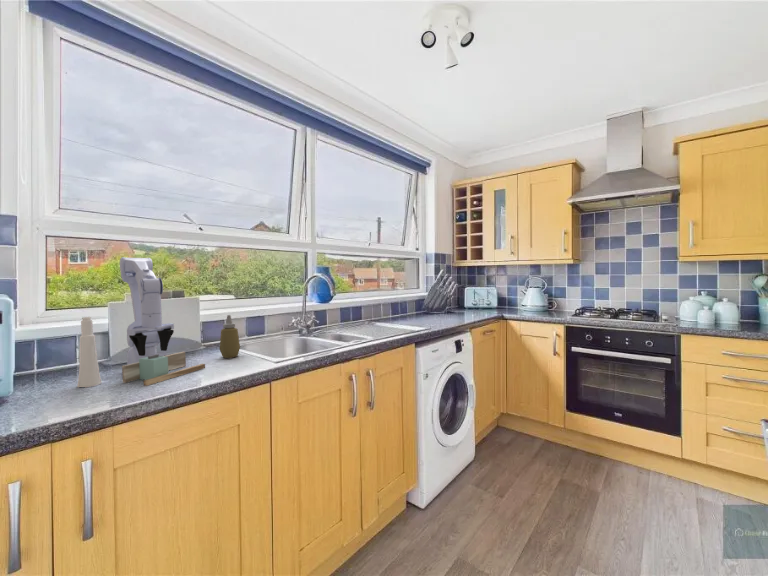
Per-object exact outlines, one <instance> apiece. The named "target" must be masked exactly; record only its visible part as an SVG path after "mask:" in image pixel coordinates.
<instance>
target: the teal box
mask: <svg viewBox="0 0 768 576" xmlns="http://www.w3.org/2000/svg"><path fill="white" fill-rule="evenodd" d="M164 356H165V355H163V356H160V355H159V354H158V353H157V354H156V355H152V356H148V357H145V358H141V359H139V368H140V379H139V380H143V379H145V380H148V379H151V378H154V377H158V376H161V375H165V374H168V373H169V371H168V357H164Z"/></svg>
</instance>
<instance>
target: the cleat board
mask: <svg viewBox="0 0 768 576" xmlns="http://www.w3.org/2000/svg"><path fill="white" fill-rule="evenodd" d="M163 356H164V357H168V374H165V375H161V376H158V377H154V378H151V379H148V380H143V386H146V387H149V386H150V385H153V384H154V385H155V384H158V383H160V382H161V383H162V382H164V381H167V380H170V378H171V379H173V378H177V377H180V376H183V375H187V374H190V373H193V372H197V371H199V370H203V369H205V368H206V364H205V363H200V364H196V365H193V366H189V367H186V366H187V363H186V361H187V359H186V358H187V357H186V351H180V352H174V353H172V354H166V355H163ZM183 367H186V368H183ZM180 368H183V369H180ZM176 369H179V370H177V371H176ZM169 370H170V371H172V372H170V371H169ZM173 370H175V371H173ZM121 373H122V375H121V376H122V384H123V383H124V384H126V383H129V382H130V381H131V382H134V381H137V379H138V380H141V379H140V368H139V362H137V363H132V364H128V365H127V364H125V365H121ZM157 382H158V383H157Z"/></svg>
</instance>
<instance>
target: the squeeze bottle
mask: <svg viewBox="0 0 768 576" xmlns="http://www.w3.org/2000/svg"><path fill="white" fill-rule="evenodd" d="M222 327H223V328H222V329H221V330H220V340H219V351H220V354H221V355H222V358H223V359H231V358H236V357H238V356H239V352H240V350H241V344H240V339H239V330H238V328H236V323H235V322H233V320H232V316H231V314H228V315H226V320H225V323H223V324H222Z"/></svg>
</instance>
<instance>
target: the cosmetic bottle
mask: <svg viewBox="0 0 768 576" xmlns="http://www.w3.org/2000/svg"><path fill="white" fill-rule="evenodd" d="M93 327H94V326H93V319H92V317H91V316H84V317H83V316H82V318H81V321H80V329H81V332H80V333H81V335H80V336H79V360H78V361H79V367H78V368H79V369H78V380H77V386H76V387H77V388H79V387H85V388H91V386H92V387H95V386H99V385H101V384H102V383H103V382H102V378H101V374H100V369H99V367H100V366H99V362H98V352H97V351H98V350H97V342H96V335H95V334H94V329H93Z"/></svg>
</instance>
